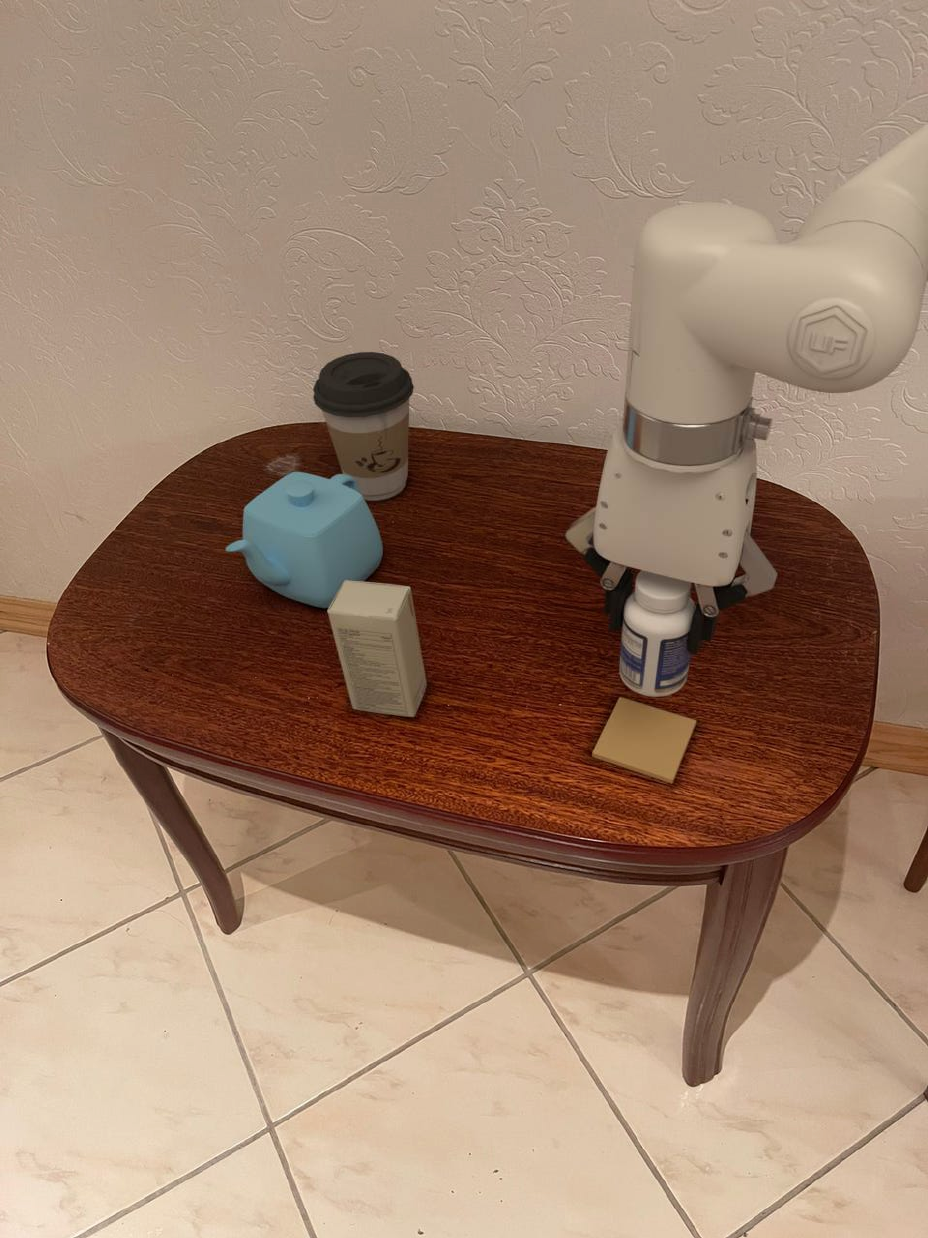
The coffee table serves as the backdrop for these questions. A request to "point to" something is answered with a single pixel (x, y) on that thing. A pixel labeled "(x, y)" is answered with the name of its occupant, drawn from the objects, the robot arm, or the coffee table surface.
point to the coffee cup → (368, 419)
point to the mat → (645, 739)
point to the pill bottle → (656, 635)
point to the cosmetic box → (379, 647)
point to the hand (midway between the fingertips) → (657, 629)
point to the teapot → (310, 537)
